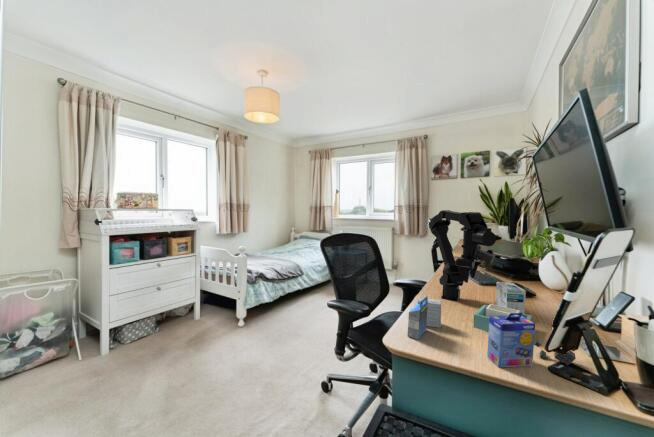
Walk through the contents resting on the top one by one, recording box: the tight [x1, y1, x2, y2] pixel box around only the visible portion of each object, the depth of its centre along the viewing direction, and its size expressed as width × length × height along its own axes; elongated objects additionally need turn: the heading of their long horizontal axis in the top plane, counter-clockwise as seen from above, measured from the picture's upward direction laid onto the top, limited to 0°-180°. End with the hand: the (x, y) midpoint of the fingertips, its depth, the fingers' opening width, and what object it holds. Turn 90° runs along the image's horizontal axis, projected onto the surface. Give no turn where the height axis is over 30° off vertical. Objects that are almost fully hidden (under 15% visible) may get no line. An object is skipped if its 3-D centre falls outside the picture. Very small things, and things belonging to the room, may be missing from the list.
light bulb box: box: [495, 281, 527, 314], centre depth 111 cm, size 11×7×11 cm, turn 168°
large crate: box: [473, 304, 533, 333], centre depth 96 cm, size 15×13×5 cm
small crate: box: [486, 303, 520, 317], centre depth 96 cm, size 9×6×6 cm, turn 46°
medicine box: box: [417, 297, 442, 328], centre depth 99 cm, size 8×4×9 cm, turn 71°
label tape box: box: [407, 295, 429, 340], centre depth 92 cm, size 9×4×12 cm, turn 145°
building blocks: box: [534, 340, 577, 365], centre depth 77 cm, size 3×6×8 cm
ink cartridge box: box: [487, 313, 536, 368], centre depth 75 cm, size 10×6×14 cm, turn 95°
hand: (469, 280), depth 113 cm, fingers open, 9 cm apart
